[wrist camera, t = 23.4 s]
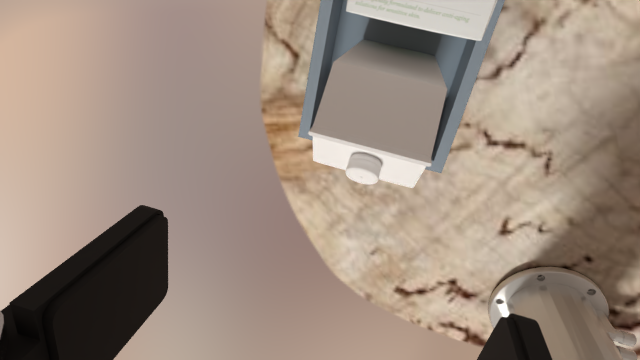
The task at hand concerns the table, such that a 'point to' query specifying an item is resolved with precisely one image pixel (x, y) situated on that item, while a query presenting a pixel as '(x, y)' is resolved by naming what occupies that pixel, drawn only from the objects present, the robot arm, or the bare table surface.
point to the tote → (450, 51)
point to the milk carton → (380, 114)
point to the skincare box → (431, 14)
